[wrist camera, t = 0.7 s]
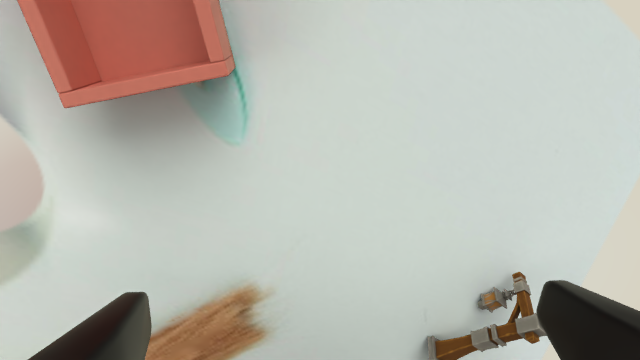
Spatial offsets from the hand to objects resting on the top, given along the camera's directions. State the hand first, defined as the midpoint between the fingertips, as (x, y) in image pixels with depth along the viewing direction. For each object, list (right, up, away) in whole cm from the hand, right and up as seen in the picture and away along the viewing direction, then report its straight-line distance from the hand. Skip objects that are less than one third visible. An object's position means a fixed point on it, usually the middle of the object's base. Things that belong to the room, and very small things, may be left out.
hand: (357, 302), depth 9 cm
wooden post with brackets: (+9, -6, +18) cm, 21 cm away
